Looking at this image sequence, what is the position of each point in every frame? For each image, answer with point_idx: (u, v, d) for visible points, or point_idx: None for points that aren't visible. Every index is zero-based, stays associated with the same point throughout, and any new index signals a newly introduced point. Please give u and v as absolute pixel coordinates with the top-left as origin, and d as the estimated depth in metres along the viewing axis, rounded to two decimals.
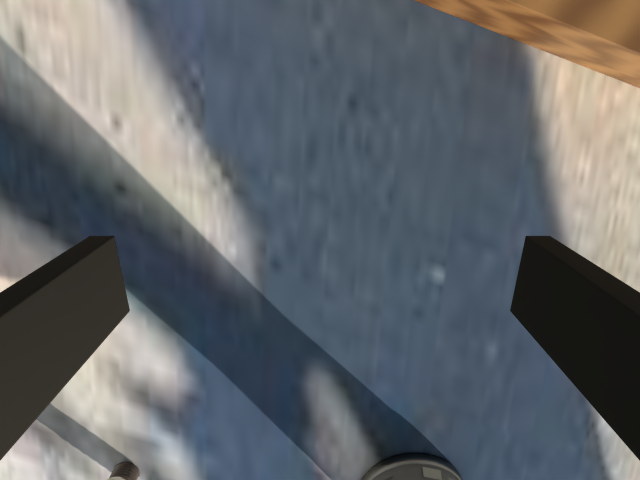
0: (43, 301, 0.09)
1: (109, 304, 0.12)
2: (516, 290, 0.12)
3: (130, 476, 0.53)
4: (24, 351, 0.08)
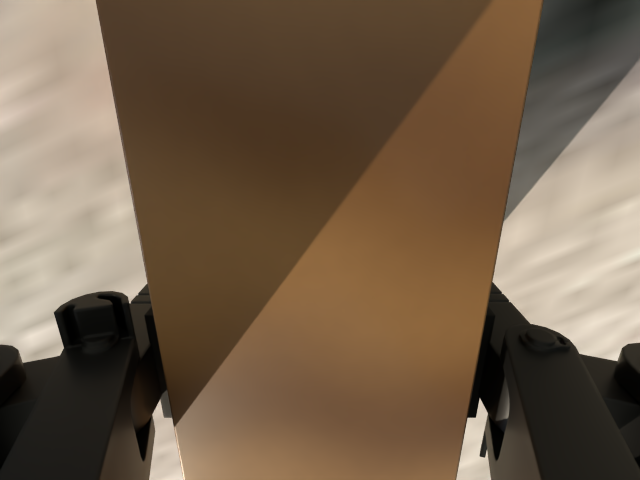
0: None
1: None
2: None
3: None
4: None
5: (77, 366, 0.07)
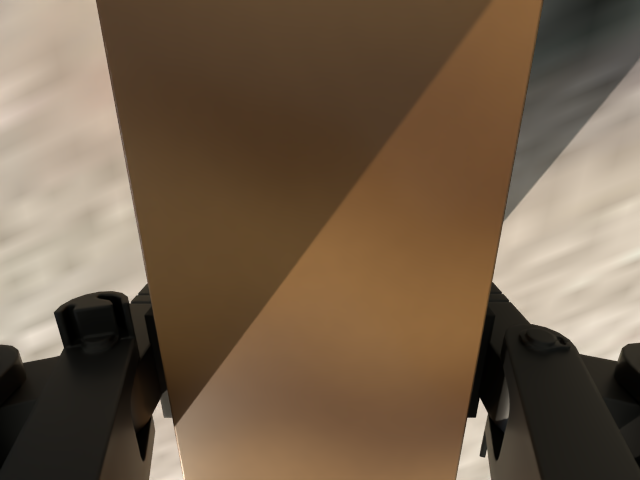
0: None
1: None
2: None
3: None
4: None
5: (77, 366, 0.07)
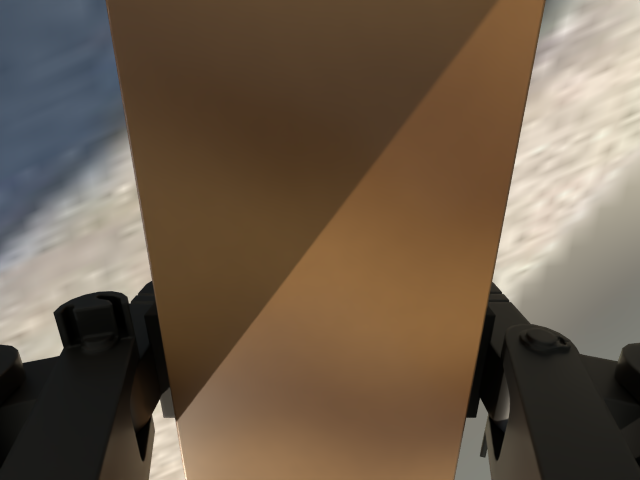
0: None
1: None
2: None
3: None
4: None
5: (77, 366, 0.06)
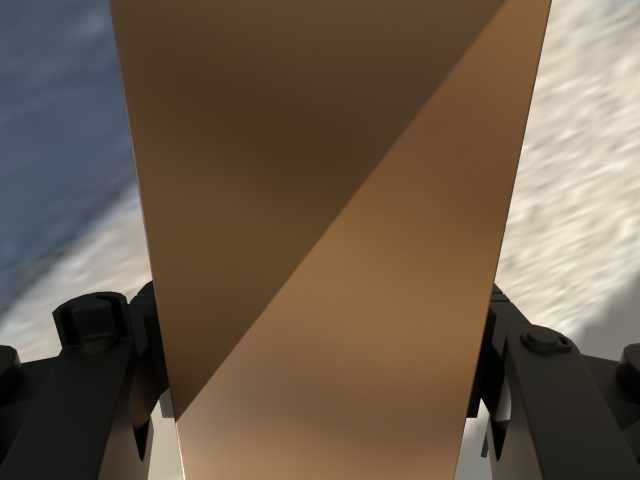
0: None
1: None
2: None
3: None
4: None
5: (75, 366, 0.06)
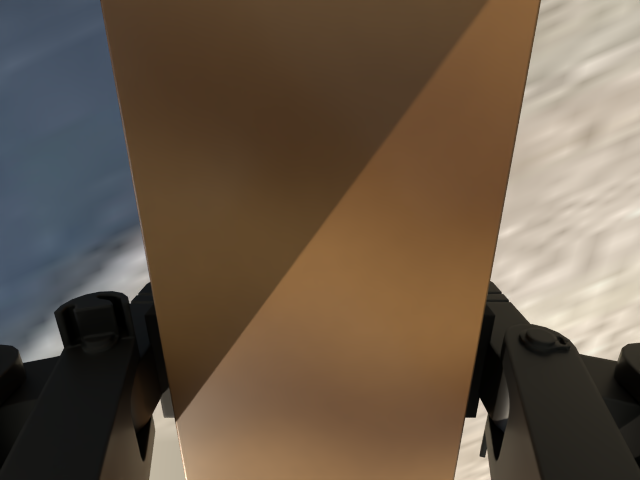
0: None
1: None
2: None
3: None
4: None
5: (77, 366, 0.07)
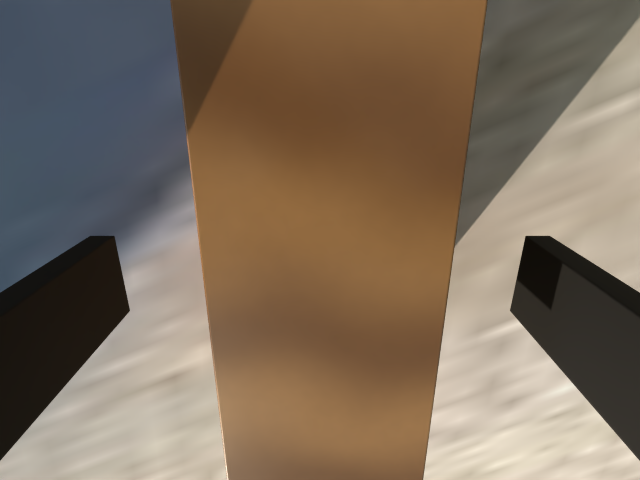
0: (43, 301, 0.09)
1: (109, 304, 0.12)
2: (516, 290, 0.12)
3: None
4: (24, 351, 0.08)
5: None
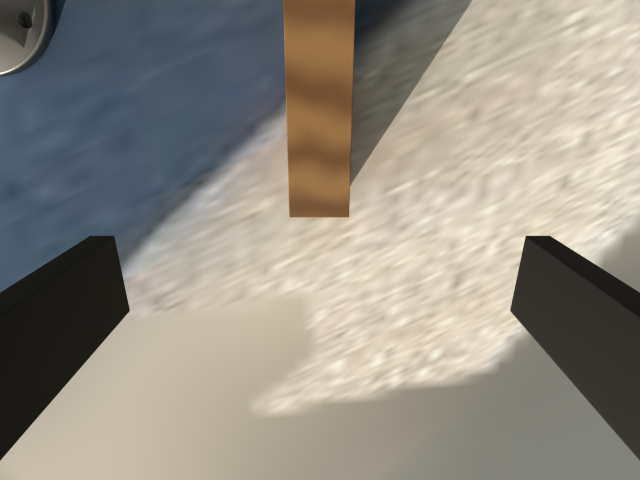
0: (43, 301, 0.09)
1: (109, 304, 0.12)
2: (517, 290, 0.12)
3: None
4: (24, 351, 0.08)
5: None
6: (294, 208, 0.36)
